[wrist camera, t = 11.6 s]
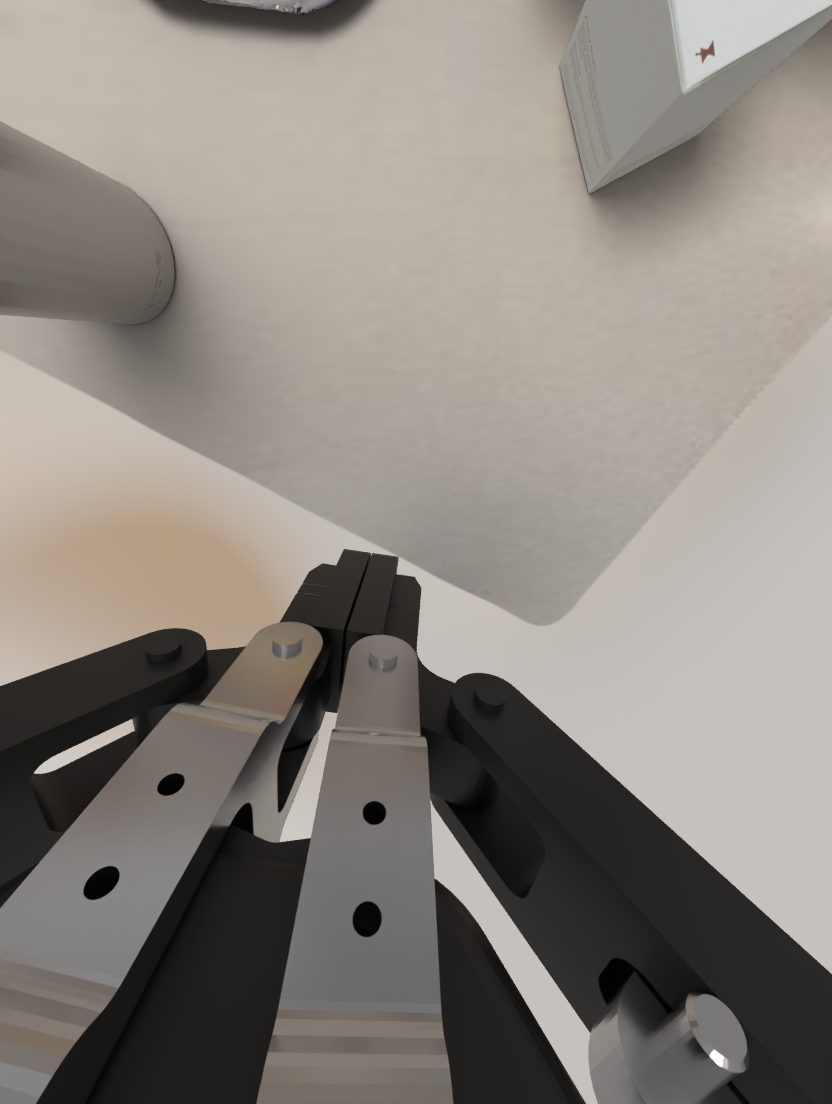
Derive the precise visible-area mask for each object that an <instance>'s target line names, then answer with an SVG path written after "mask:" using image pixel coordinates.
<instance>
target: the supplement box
mask: <svg viewBox="0 0 832 1104" xmlns="http://www.w3.org/2000/svg"><path fill="white" fill-rule="evenodd" d="M831 19H832V0H585V2H584V5H583V8H582V10H581V13H580V15H579V18H578V20H577V23H576V25H575V27H574V30H573V33H572V35H571V38H570V40H569V43H568V45H567V48H566V50H565V53H564V55H563V58H562V60H561V63H560V71H561V75H562V80H563V85H564V89H565V94H566V98H567V102H568V107H569V111H570V115H571V120H572V124H573V128H574V133H575V137H576V141H577V146H578V150H579V154H580V158H581V163H582V167H583V171H584V175H585V180H586V184H587V188H588V193H592V192H594V191H596V190H597V189H599V188H601V187H603V186H605V185H607V184H609V183H610V182H612V181H614V180H616V179H618V178H620V177H621V176H623V175H625V174H627V173H629V172H631V171H633V170H634V169H636V168H638V167H640V166H642V165H644V164H646V163H647V162H649V161H651V160H653V159H655V158H657V157H659V156H660V155H662V154H664V153H666V152H668V151H670V150H671V149H673V148H675V147H677V146H679V145H681V144H682V143H684V142H686V141H688V140H690V139H691V138H693V137H695V136H697V135H698V134H699V133H700V132H702V131H703V130H704V129H705V128H706V127H707V126H708V125H709V124H711V123H712V122H713V121H714V120H715V119H716V118H718V117H719V116H720V115H721V114H722V113H723V112H725V111H726V110H727V109H728V108H729V107H730V106H732V105H733V104H734V103H735V102H736V101H737V100H738V99H740V98H741V97H742V96H743V95H744V94H745V93H747V92H748V91H749V90H750V89H751V88H752V87H753V86H755V85H756V84H757V83H758V82H759V81H760V80H762V79H763V78H764V77H765V76H766V75H768V74H769V73H770V72H771V71H772V70H773V69H775V68H776V67H777V66H778V65H779V64H781V63H782V62H783V61H784V60H785V59H786V58H787V57H789V56H790V55H791V54H792V53H793V52H794V51H796V50H797V49H798V48H799V47H800V46H801V45H802V44H804V43H805V42H806V41H807V40H808V39H809V38H811V37H812V36H813V35H814V34H815V33H816V32H817V31H819V30H820V29H821V28H822V27H823V26H824V25H826V24H827V23H828V22H829V21H830V20H831Z"/></svg>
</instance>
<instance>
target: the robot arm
mask: <svg viewBox="0 0 832 1104" xmlns="http://www.w3.org/2000/svg"><path fill="white" fill-rule="evenodd" d="M174 277H175V271H174V259H173V255H172V250H171V246H170V243H169V240H168V238H167V236H166V233H165V231H164V228H163V227H162V225H161V223H160V222H159V220H158V218H157V217H156V215H155V213H154V212H153V211H152V210H151V209H150V207H149V206H148V205H147V204H146V203H145V202H144V200H143V199H141V198H140V197H139V196H138V195H137V194H136V193H134V192H133V191H132V190H131V189H129V188H128V187H126V186H124V185H122V184H121V183H119V182H117V181H115V180H113V179H111V178H109V177H107V176H105V175H103V174H101V173H100V172H98V171H96V170H94V169H92V168H90V167H88V166H86V165H84V164H82V163H81V162H79V161H77V160H75V159H73V158H71V157H69V156H67V155H65V154H63V153H61V152H59V151H57V150H55V149H53V148H51V147H49V146H47V145H46V144H44V143H42V142H40V141H38V140H36V139H34V138H32V137H30V136H28V135H26V134H24V133H22V132H20V131H18V130H16V129H14V128H12V127H10V126H8V125H7V124H5V123H3V122H1V121H0V315H11V316H24V317H37V318H51V319H64V320H77V321H90V322H103V323H118V324H132V325H134V324H140V323H145V322H147V321H149V320H151V319H153V318H155V317H156V316H157V315H158V314H159V313H160V312H162V311H163V309H164V308H165V306H166V305H167V303H168V301H169V299H170V296H171V293H172V290H173V285H174ZM397 565H398V557H395V556H388V555H381V554H375V553H372V556H371V553H368V552H361V551H354V550H347V549H344V551H343V553H342V555H341V557H340V559H339V561H338V563H337V565H336V566H335V565H329V564H321V565H319V566H318V567H316V568H314V569H313V570H311V571H310V572H309V573H308V575H307V577H306V578H305V580H304V582H303V585H301V587H300V589H299V590H298V593H297V594H296V595H295V597H294V599H293V600H292V602H291V604H290V606H289V607H288V609H287V611H286V613H285V614H284V616H283V618H282V619H281V621H280V623H277V624H273V625H270V626H268V627H265V628H264V629H262V630H260V631H259V632H258V633H257V634H256V635H255V636H254V637H253V638H252V640H251V641H250V642H249V644H248V645H247V646H245V647H239V648H230V649H217V650H207V648H206V642H205V639H204V638H203V637H202V636H201V635H200V634H199V633H197V632H194V631H192V630H188V629H179V628H175V629H174V628H173V629H163V630H159V631H155V632H152V633H148V634H146V635H143V636H140V637H137V638H134V639H132V640H129V641H126V642H123V643H120V644H118V645H115V646H112V647H109V648H106V649H103V650H101V651H98V652H95V653H92V654H89V655H87V656H84V657H81V658H79V659H76V660H73V661H70V662H67V663H64V664H61V665H59V666H56V667H53V668H50V669H47V670H45V671H42V672H39V673H36V674H34V675H31V676H28V677H25V678H22V679H20V680H16V681H14V682H11V683H8V684H5V685H2V686H0V1104H586V1103H585V1101H584V1100H583V1098H582V1096H581V1095H580V1093H579V1091H578V1090H577V1088H576V1086H575V1085H574V1083H573V1081H572V1080H571V1078H570V1076H569V1075H568V1073H567V1071H566V1069H565V1068H564V1066H563V1065H562V1063H561V1061H560V1060H559V1058H558V1056H557V1054H556V1053H555V1051H554V1049H553V1048H552V1046H551V1044H550V1043H549V1041H548V1039H547V1038H546V1036H545V1034H544V1033H543V1031H542V1029H541V1027H540V1026H539V1024H538V1023H537V1021H536V1019H535V1017H534V1016H533V1014H532V1013H531V1011H530V1009H529V1007H528V1006H527V1004H526V1002H525V1001H524V999H523V997H522V996H521V994H520V992H519V991H518V989H517V987H516V986H515V984H514V982H513V980H512V979H511V977H510V975H509V974H508V972H507V970H506V969H505V967H504V965H503V964H502V962H501V960H500V959H499V957H498V955H497V954H496V952H495V950H494V949H493V947H492V945H491V943H490V942H489V940H488V939H487V937H486V935H485V934H484V932H483V930H482V929H481V927H480V926H479V924H478V923H477V922H476V920H475V919H474V917H473V916H472V915H471V914H470V912H469V911H468V910H467V908H466V907H465V906H464V905H463V904H462V903H461V902H460V901H459V899H457V897H456V896H455V895H454V894H453V893H452V892H451V891H450V890H448V889H447V888H446V887H445V886H444V885H442V884H441V883H440V882H439V881H437V880H436V879H434V864H433V844H432V825H431V806H430V799H431V801H432V804H433V806H434V808H435V809H436V811H437V812H438V814H439V815H440V817H441V818H442V819H443V821H444V822H445V824H446V825H447V827H448V828H449V830H450V831H451V833H452V834H453V835H454V837H455V838H456V840H457V841H458V843H459V844H460V845H461V847H462V848H463V850H464V851H465V853H466V854H467V856H468V857H469V859H470V860H471V861H472V863H473V864H474V866H475V867H476V869H477V870H478V872H479V873H480V874H481V876H482V877H483V879H484V880H485V882H486V883H487V885H488V886H489V887H490V889H491V890H492V892H493V893H494V895H495V896H496V897H497V899H498V900H499V902H500V903H501V905H502V906H503V908H504V909H505V911H506V912H507V913H508V915H509V916H510V918H511V919H512V921H513V922H514V923H515V925H516V926H517V928H518V929H519V931H520V932H521V933H522V935H523V936H524V938H525V939H526V941H527V942H528V944H529V945H530V947H531V948H532V949H533V951H534V952H535V954H536V955H537V956H538V958H539V960H540V961H541V962H542V964H543V965H544V967H545V968H546V970H547V971H548V973H549V974H550V976H551V977H552V978H553V980H554V981H555V983H556V984H557V986H558V987H559V989H560V990H561V991H562V993H563V994H564V995H565V997H566V998H567V1000H568V1002H569V1003H570V1004H571V1006H572V1007H573V1009H574V1010H575V1012H576V1013H577V1014H578V1016H579V1017H580V1019H581V1020H582V1022H583V1023H584V1025H585V1026H586V1028H587V1029H588V1030H589V1032H590V1033H591V1034H590V1040H589V1067H590V1075H591V1080H592V1084H593V1089H594V1092H595V1095H596V1098H597V1101H598V1104H832V974H831V973H830V972H829V971H828V970H826V969H825V968H824V967H823V966H822V965H821V964H820V963H819V962H818V961H817V960H815V959H814V958H813V957H812V956H811V955H810V954H809V953H808V952H807V951H805V950H804V949H803V948H802V947H801V946H800V945H799V944H798V943H797V942H796V941H794V940H793V939H792V938H791V937H790V936H789V935H788V934H787V933H785V932H784V931H783V930H782V929H781V928H780V927H779V926H778V925H777V924H775V923H774V922H773V921H772V920H771V919H770V918H769V917H768V916H767V915H766V914H765V913H763V912H762V911H761V910H760V909H759V908H758V907H757V906H756V905H755V904H754V903H752V902H751V901H750V900H749V899H748V898H747V897H746V896H745V895H744V894H742V893H741V892H740V891H739V890H738V889H737V888H736V887H735V886H734V885H732V884H731V883H730V882H729V881H728V880H727V879H726V878H725V877H724V876H723V875H721V874H720V873H719V872H718V871H717V870H716V869H715V868H714V867H713V866H711V865H710V864H709V863H708V862H707V861H706V860H705V859H704V858H703V857H702V856H700V855H699V854H698V853H697V852H696V851H695V850H694V849H692V847H691V846H689V845H688V844H687V843H686V842H685V841H684V840H683V839H682V838H680V837H679V836H678V835H677V834H676V833H675V832H674V831H673V830H671V828H669V827H668V826H667V825H666V824H665V823H664V822H663V821H662V820H661V819H659V818H658V817H657V816H656V815H655V814H654V813H653V812H652V811H651V810H650V809H648V808H647V807H646V806H645V805H644V804H643V803H642V802H641V801H640V800H639V799H637V798H636V797H635V796H634V795H633V794H632V793H631V792H630V791H628V789H626V788H625V787H624V786H623V785H622V784H621V783H620V782H619V781H618V780H616V779H615V778H614V777H613V776H612V775H611V774H610V773H609V772H608V771H606V770H605V769H604V768H603V767H602V766H601V765H600V764H599V763H598V762H597V761H595V760H594V759H593V758H592V757H591V756H590V755H589V754H588V753H587V752H585V751H584V750H583V749H582V748H581V747H580V746H579V745H578V744H577V743H576V742H574V741H573V740H572V739H571V738H570V737H569V736H568V735H567V734H566V733H565V732H563V731H562V730H561V729H560V728H559V727H558V726H557V725H556V724H555V723H553V722H552V721H551V720H550V719H549V718H548V717H547V716H546V715H545V714H544V713H542V712H541V711H540V710H539V709H538V708H537V707H536V706H535V705H533V704H532V703H531V702H530V701H529V700H528V699H527V698H526V697H525V696H524V695H523V694H521V693H520V692H519V691H518V690H517V689H516V688H515V687H513V686H512V685H511V684H510V683H508V682H507V681H505V680H503V679H501V678H499V677H497V676H494V675H490V674H485V673H473V674H468V675H465V676H463V677H461V678H460V679H458V680H457V682H456V683H453V682H451V681H448V680H446V679H443V678H441V677H439V676H437V675H435V674H434V673H432V672H430V671H429V670H428V669H427V668H426V667H425V666H424V665H423V664H422V663H421V661H420V660H419V658H418V655H417V636H418V622H419V610H420V598H421V587H420V585H419V583H418V582H417V580H416V579H415V577H411V576H404V575H397V574H396V573H397ZM338 708H339V710H338ZM325 711H327V712H333V713H337V712H338V715H337V721H336V726H335V729H333V730H332V733H331V737H330V742H329V747H328V752H327V757H326V762H325V767H324V773H323V778H322V784H321V788H320V794H319V799H318V804H317V809H316V814H315V820H314V825H313V830H312V836H311V838H309V839H301V840H294V841H286V842H279V841H280V836H281V833H282V829H283V826H284V823H285V820H286V818H287V816H288V813H289V811H290V808H291V806H292V803H293V801H294V798H295V796H296V793H297V791H298V789H299V786H300V784H301V781H302V779H303V776H304V774H305V771H306V769H307V766H308V764H309V762H310V759H311V757H312V754H313V752H314V749H315V747H316V744H317V741H318V731H319V729H320V727H321V724H322V721H323V718H324V714H325ZM130 719H132V720H133V724H134V729H135V731H134V732H131V733H129V734H128V735H125V736H123V737H122V738H119V739H117V740H115V741H113V742H111V743H109V744H108V745H105V746H103V747H101V748H100V749H97V750H95V751H93V752H91V753H89V754H87V755H85V756H83V757H81V758H79V759H77V760H75V761H73V762H71V763H69V764H67V765H65V766H63V767H61V768H59V769H57V770H55V771H52V772H49V773H45V774H34V772H35V770H36V769H37V768H38V767H39V766H40V765H41V764H42V763H43V762H45V761H46V760H48V759H49V758H51V757H53V756H55V755H57V754H59V753H61V752H63V751H65V750H67V749H69V748H71V747H73V746H76V745H78V744H80V743H82V742H84V741H86V740H88V739H90V738H92V737H94V736H97V735H99V734H101V733H103V732H105V731H107V730H109V729H111V728H113V727H116V726H118V725H120V724H122V723H124V722H126V721H128V720H130Z"/></svg>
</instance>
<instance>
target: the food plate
mask: <svg viewBox="0 0 832 1104" xmlns="http://www.w3.org/2000/svg"><path fill="white" fill-rule="evenodd" d="M197 1H198V0H197ZM203 1H206V2H208V3H210V4H211V3H217V4H225V5H227V4H228V5H236V6H238V7H239V6H240V7H241V6H247V7H252V8H258V9H266V10H270V9H273V10H277V11H279V10H280V11H282V12H283V11H285V12H291V13H294V12H292V11H293V10H294V11H295V14H304V12H305V13H308V12H311V11H312V9H313V10H314V11H315V9H317V10H318V9H322V8H323V7H324V6H325V8H326V7H327V8H328V7H330V6H331V5H333V4H335V2H336V0H203ZM337 1H338V0H337ZM297 8H298V9H299V10H300V13H296V10H297Z"/></svg>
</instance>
